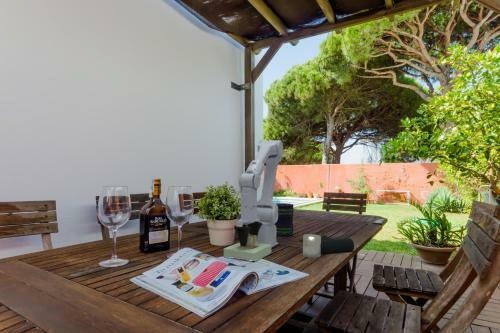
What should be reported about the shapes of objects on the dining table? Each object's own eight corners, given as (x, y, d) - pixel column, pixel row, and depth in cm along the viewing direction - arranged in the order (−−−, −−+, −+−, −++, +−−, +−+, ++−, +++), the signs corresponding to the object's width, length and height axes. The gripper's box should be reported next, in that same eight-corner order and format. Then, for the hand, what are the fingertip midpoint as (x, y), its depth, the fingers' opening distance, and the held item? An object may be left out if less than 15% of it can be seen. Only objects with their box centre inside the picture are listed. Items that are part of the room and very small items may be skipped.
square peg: (246, 253, 111) (246, 234, 111) (256, 254, 109) (256, 235, 109) (241, 255, 108) (241, 236, 108) (250, 257, 106) (251, 237, 106)
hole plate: (243, 248, 118) (243, 240, 118) (271, 252, 112) (271, 244, 112) (223, 257, 105) (223, 248, 105) (254, 262, 100) (254, 253, 100)
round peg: (305, 252, 114) (306, 233, 114) (322, 254, 111) (322, 235, 111) (300, 256, 108) (300, 236, 109) (318, 258, 106) (318, 238, 106)
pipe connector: (304, 234, 121) (336, 233, 126) (304, 247, 121) (336, 245, 126) (320, 241, 111) (354, 239, 115) (319, 256, 111) (354, 253, 115)
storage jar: (270, 236, 141) (270, 204, 141) (275, 232, 150) (275, 202, 151) (291, 238, 138) (291, 205, 138) (295, 234, 147) (295, 203, 147)
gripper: (249, 209, 101) (248, 249, 100) (267, 205, 114) (266, 241, 113) (231, 207, 104) (230, 247, 104) (250, 204, 117) (250, 239, 116)
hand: (248, 244), depth 109 cm, fingers open, 7 cm apart
